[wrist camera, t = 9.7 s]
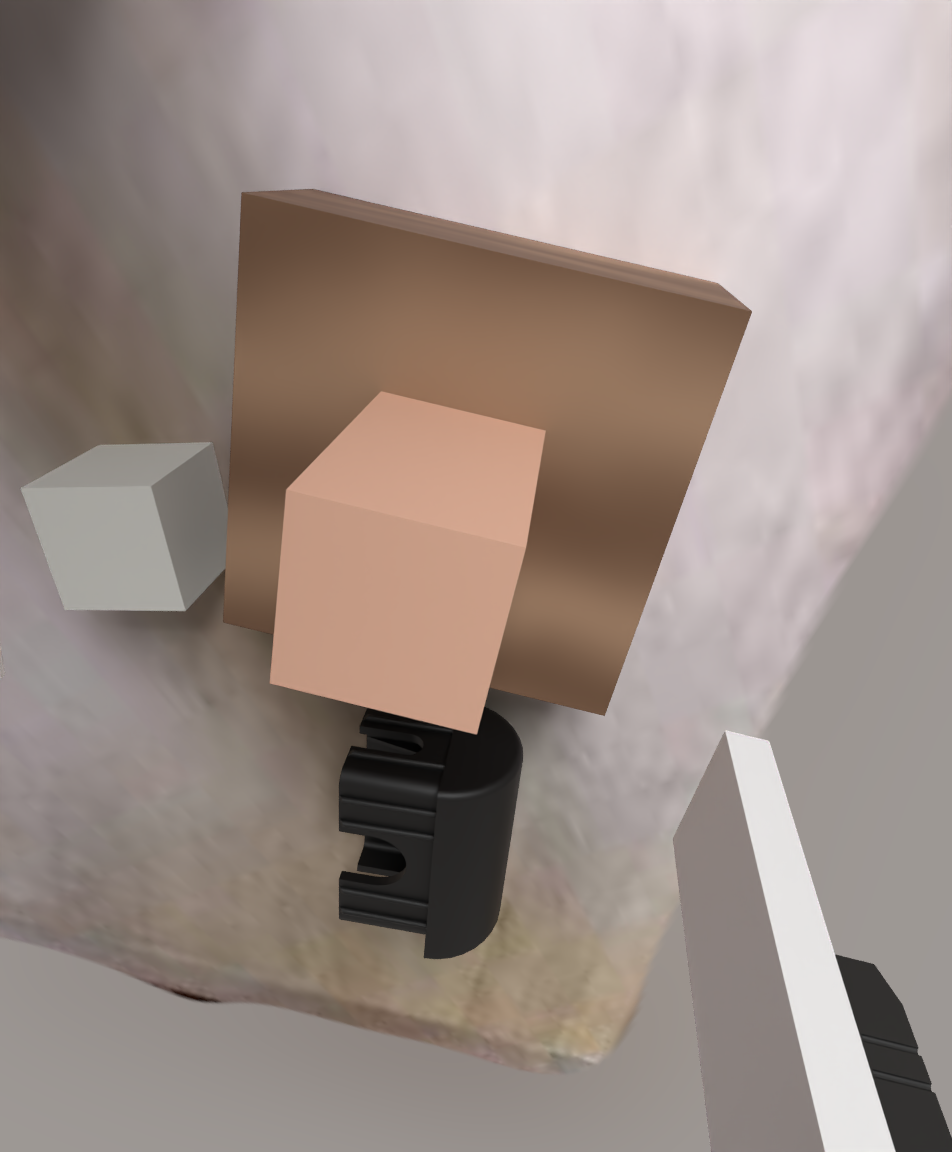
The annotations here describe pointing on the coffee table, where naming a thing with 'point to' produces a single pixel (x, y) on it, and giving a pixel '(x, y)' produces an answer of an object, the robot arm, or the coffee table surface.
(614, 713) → the coffee table surface
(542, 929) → the coffee table surface
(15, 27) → the coffee table surface
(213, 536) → the grey cube
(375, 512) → the terracotta block
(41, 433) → the coffee table surface
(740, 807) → the robot arm
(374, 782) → the end cap
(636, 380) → the walnut block
